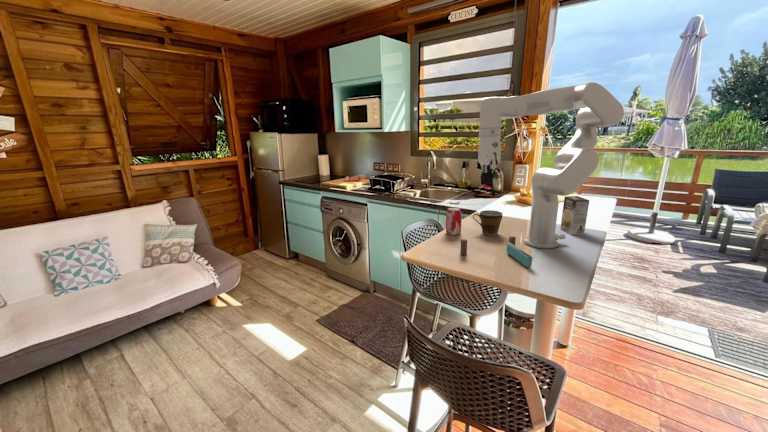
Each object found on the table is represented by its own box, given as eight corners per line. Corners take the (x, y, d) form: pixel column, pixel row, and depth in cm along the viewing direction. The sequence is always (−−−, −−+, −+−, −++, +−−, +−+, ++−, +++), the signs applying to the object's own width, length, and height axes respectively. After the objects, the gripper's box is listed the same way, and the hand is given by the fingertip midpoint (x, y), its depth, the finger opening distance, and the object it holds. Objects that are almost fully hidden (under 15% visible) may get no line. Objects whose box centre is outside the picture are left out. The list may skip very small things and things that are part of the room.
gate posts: (512, 250, 121) (513, 235, 120) (515, 252, 119) (517, 237, 117) (459, 253, 119) (460, 239, 118) (461, 255, 117) (462, 241, 115)
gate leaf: (506, 252, 118) (507, 242, 117) (510, 251, 118) (511, 242, 117) (526, 266, 105) (527, 256, 104) (531, 266, 105) (532, 255, 104)
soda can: (461, 236, 139) (462, 210, 136) (445, 235, 141) (446, 210, 138) (460, 231, 146) (461, 207, 143) (445, 230, 148) (446, 206, 144)
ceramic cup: (499, 230, 145) (501, 210, 143) (502, 237, 136) (504, 216, 133) (471, 229, 148) (472, 209, 146) (472, 236, 139) (473, 215, 136)
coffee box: (559, 229, 145) (563, 196, 141) (573, 228, 145) (577, 195, 141) (570, 235, 136) (575, 200, 132) (585, 234, 136) (590, 199, 132)
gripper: (509, 132, 104) (505, 185, 109) (490, 133, 119) (487, 179, 123) (488, 133, 104) (485, 186, 108) (471, 133, 118) (469, 180, 123)
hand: (486, 182), depth 116 cm, fingers closed
